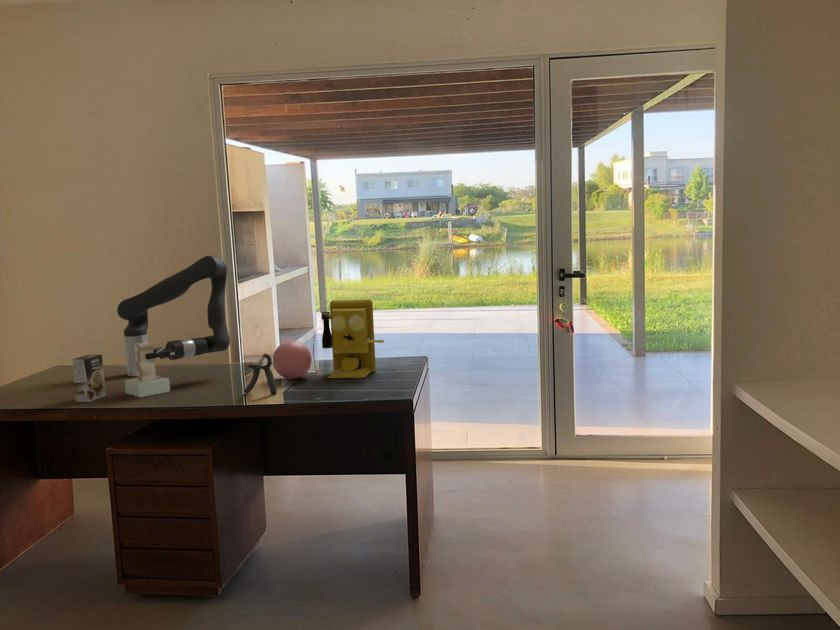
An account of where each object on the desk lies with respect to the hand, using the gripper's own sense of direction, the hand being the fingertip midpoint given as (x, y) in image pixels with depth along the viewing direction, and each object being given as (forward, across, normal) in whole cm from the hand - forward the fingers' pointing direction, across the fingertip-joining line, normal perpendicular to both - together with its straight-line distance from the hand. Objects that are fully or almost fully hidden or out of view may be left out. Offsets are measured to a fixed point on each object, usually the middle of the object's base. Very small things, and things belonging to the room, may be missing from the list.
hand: (140, 355), depth 265 cm
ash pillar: (-2, 0, +10) cm, 10 cm away
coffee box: (+16, -8, +15) cm, 24 cm away
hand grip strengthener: (-26, +40, +15) cm, 50 cm away
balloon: (-50, +27, +15) cm, 59 cm away
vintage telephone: (-66, +42, +15) cm, 79 cm away
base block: (-2, 0, +14) cm, 15 cm away
